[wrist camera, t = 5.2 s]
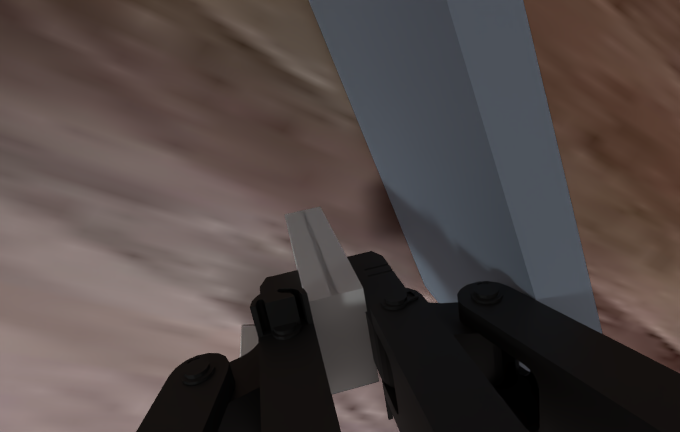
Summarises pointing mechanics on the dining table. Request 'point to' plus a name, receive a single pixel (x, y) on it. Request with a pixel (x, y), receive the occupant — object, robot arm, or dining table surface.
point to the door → (463, 143)
